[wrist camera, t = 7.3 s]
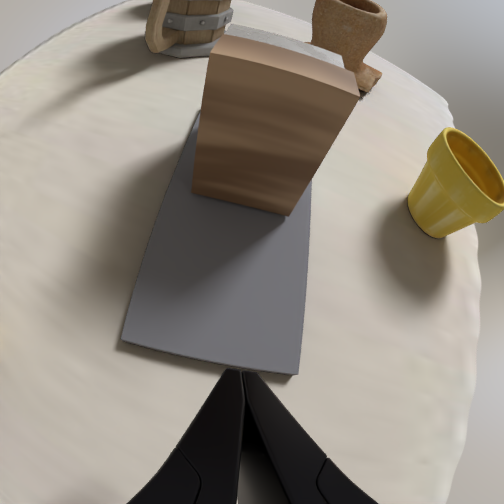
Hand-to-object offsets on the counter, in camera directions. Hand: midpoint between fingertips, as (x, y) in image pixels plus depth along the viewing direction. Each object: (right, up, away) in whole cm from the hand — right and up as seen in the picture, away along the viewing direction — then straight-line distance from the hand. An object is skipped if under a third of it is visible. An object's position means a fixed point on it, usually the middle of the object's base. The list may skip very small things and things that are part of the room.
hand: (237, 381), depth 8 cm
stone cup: (+13, +32, +34) cm, 48 cm away
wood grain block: (0, +13, +19) cm, 23 cm away
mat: (-1, +8, +18) cm, 19 cm away
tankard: (-11, +33, +28) cm, 45 cm away
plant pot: (+21, +8, +24) cm, 33 cm away
